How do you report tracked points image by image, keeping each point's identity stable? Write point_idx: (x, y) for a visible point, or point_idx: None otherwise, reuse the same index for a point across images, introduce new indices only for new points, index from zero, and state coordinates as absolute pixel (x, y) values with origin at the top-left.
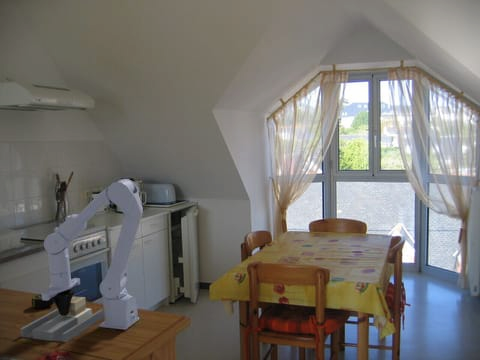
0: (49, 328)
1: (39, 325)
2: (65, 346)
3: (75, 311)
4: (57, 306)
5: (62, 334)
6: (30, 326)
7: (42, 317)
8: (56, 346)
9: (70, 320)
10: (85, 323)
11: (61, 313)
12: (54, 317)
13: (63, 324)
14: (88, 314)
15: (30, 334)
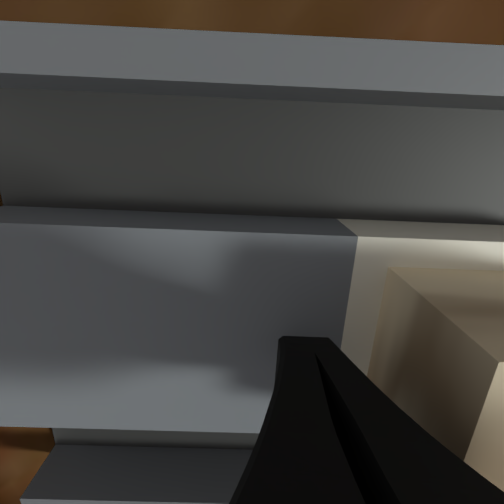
0: (52, 358)
1: (197, 92)
2: (27, 477)
3: None
4: (268, 427)
5: (25, 496)
6: (44, 77)
7: (277, 59)
8: (3, 435)
9: (254, 422)
10: None
11: (276, 375)
12: (425, 104)
13: (163, 419)
14: None
15: (39, 128)
